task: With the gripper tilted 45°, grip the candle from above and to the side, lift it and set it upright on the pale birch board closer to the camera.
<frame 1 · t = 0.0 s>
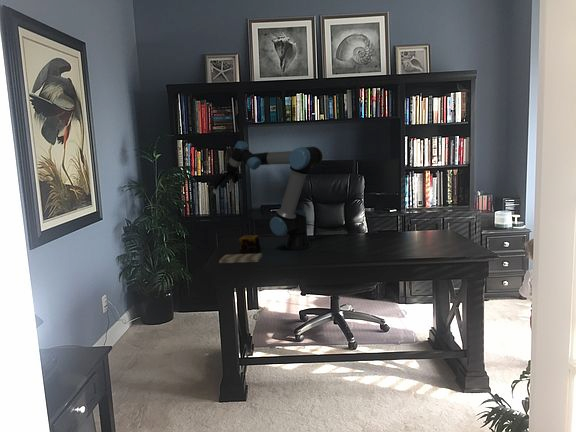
hand: (221, 191, 317), 36 cm above the table, tool tilted 35°, fingers open, 13 cm apart
birch board: (241, 259, 284), on the table
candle: (250, 253, 299), on the table
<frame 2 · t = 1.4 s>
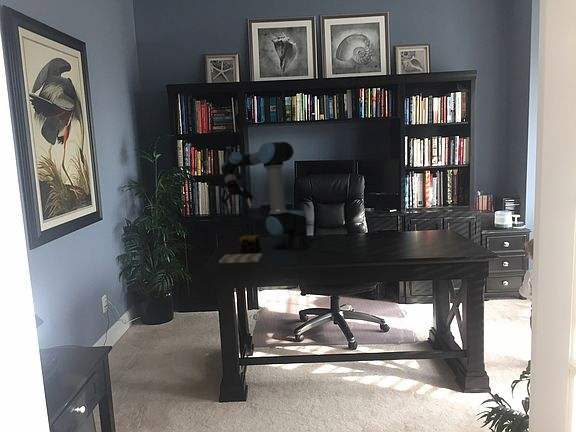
hand: (240, 208, 308), 26 cm above the table, tool tilted 45°, fingers open, 13 cm apart
nothing on the table moved.
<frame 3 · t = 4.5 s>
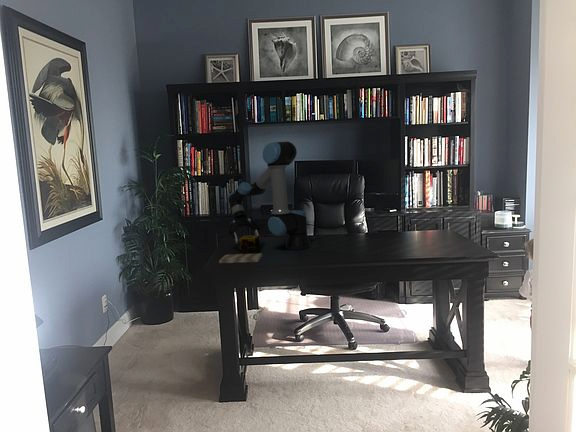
hand: (248, 241, 299), 7 cm above the table, tool tilted 45°, fingers open, 13 cm apart
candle: (250, 253, 298), on the table, touching gripper
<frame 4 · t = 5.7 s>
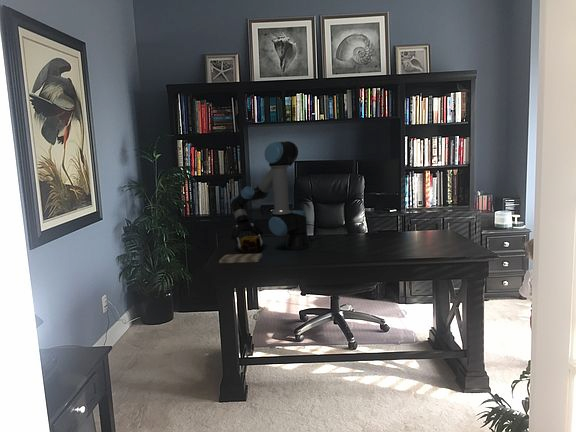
hand: (251, 245, 296), 5 cm above the table, tool tilted 45°, fingers closed on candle, 13 cm apart
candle: (251, 254, 296), on the table, touching gripper
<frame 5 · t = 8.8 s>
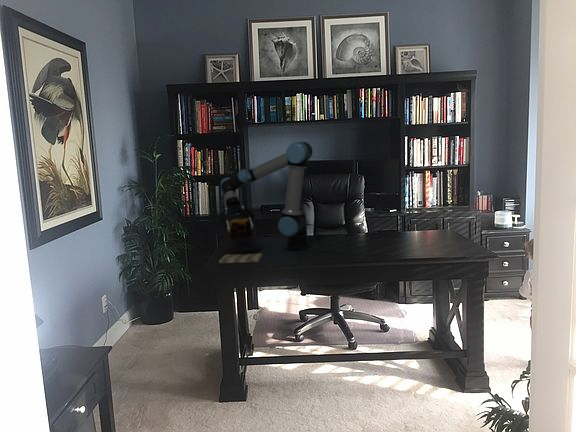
hand: (240, 229, 280), 18 cm above the table, tool tilted 45°, fingers closed on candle, 13 cm apart
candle: (241, 237, 281), point 13 cm above the table, touching gripper
when the fingers open (8 cm above the table, at t = 12.1 s): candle drops 1 cm, resting on birch board.
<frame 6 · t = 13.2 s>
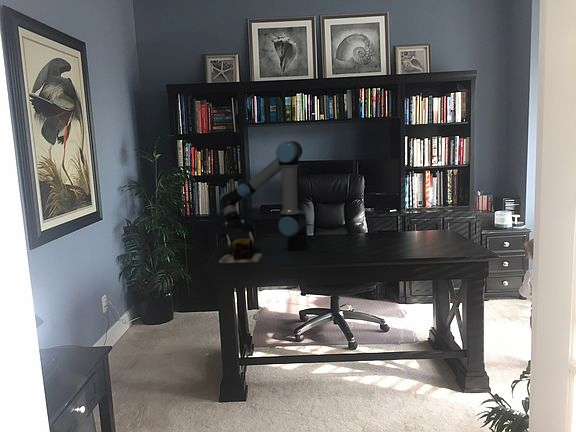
hand: (241, 243, 282), 9 cm above the table, tool tilted 45°, fingers open, 13 cm apart
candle: (243, 257, 281), point 1 cm above the table, touching birch board, gripper
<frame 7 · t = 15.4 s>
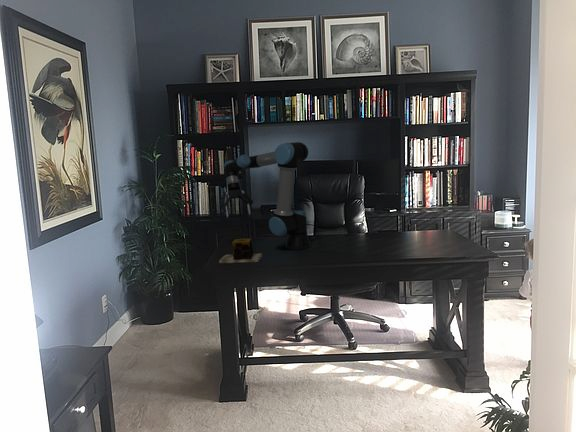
hand: (238, 215, 301), 22 cm above the table, tool tilted 30°, fingers open, 13 cm apart
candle: (243, 257, 281), point 1 cm above the table, touching birch board
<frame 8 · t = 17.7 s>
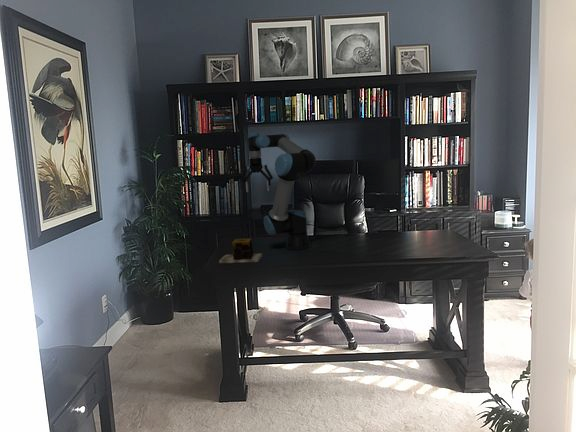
hand: (257, 191, 315), 35 cm above the table, tool pointing down, fingers open, 13 cm apart
nothing on the table moved.
at the end: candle inside the target area on the birch board (2.8 cm from its centre), point 1.3 cm above the birch board's base; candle tilted 0°; the gripper is holding nothing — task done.
